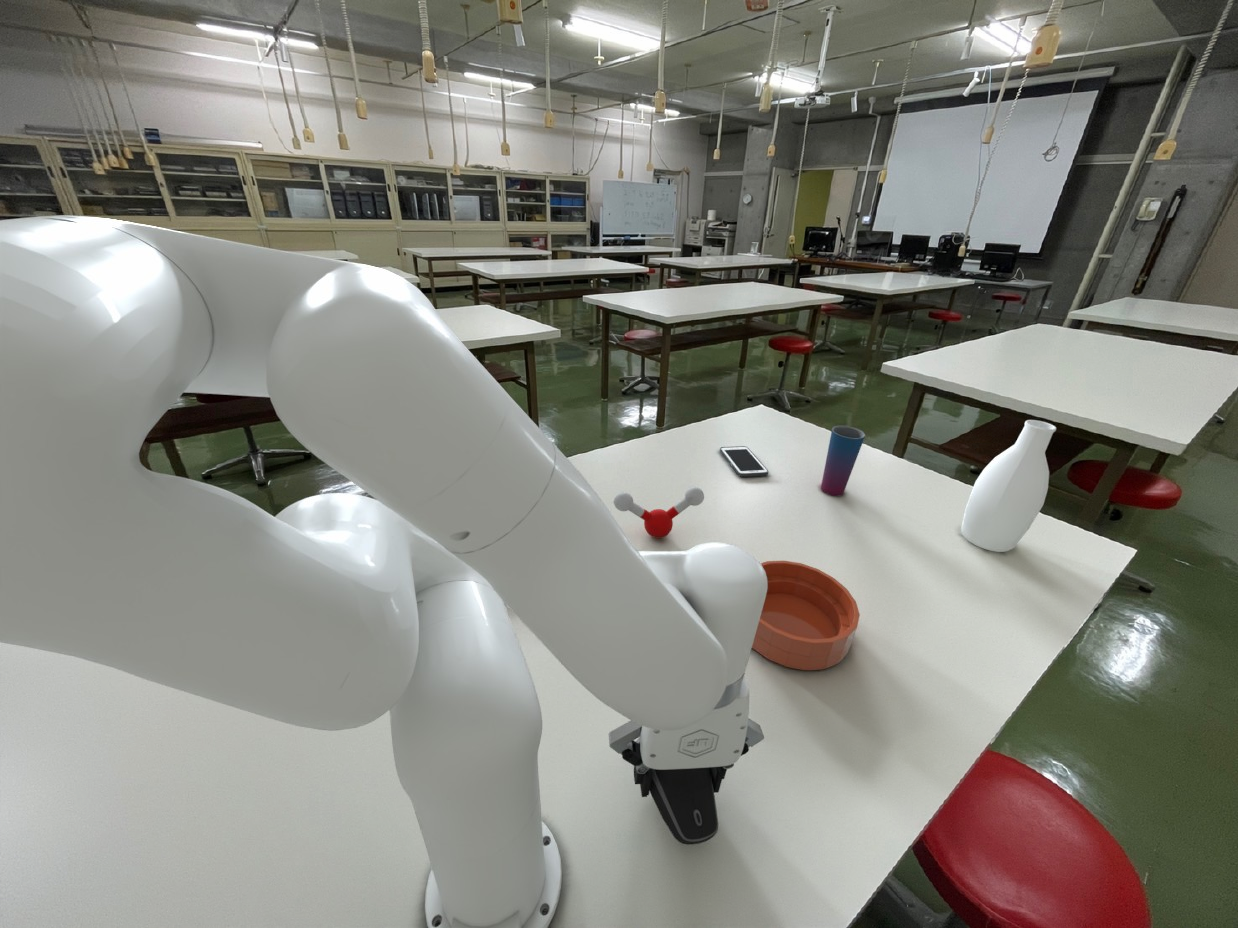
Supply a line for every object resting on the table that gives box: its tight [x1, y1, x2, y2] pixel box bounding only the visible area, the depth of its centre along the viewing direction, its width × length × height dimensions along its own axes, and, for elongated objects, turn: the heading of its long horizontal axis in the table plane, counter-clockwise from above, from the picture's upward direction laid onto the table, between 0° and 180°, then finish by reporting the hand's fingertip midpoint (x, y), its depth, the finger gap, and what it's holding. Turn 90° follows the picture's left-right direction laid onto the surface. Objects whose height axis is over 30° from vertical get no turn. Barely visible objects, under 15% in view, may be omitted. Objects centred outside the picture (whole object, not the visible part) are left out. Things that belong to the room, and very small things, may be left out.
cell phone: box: [719, 445, 769, 478], centre depth 126 cm, size 8×15×1 cm, turn 10°
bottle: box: [960, 419, 1057, 553], centre depth 95 cm, size 11×11×25 cm
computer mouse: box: [649, 767, 719, 845], centre depth 54 cm, size 7×12×4 cm, turn 16°
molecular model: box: [613, 486, 705, 539], centre depth 96 cm, size 18×6×10 cm, turn 107°
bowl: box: [752, 560, 861, 671], centre depth 77 cm, size 17×17×6 cm
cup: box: [820, 425, 866, 497], centre depth 113 cm, size 7×7×15 cm
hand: (677, 780), depth 54 cm, fingers closed on computer mouse, 7 cm apart
